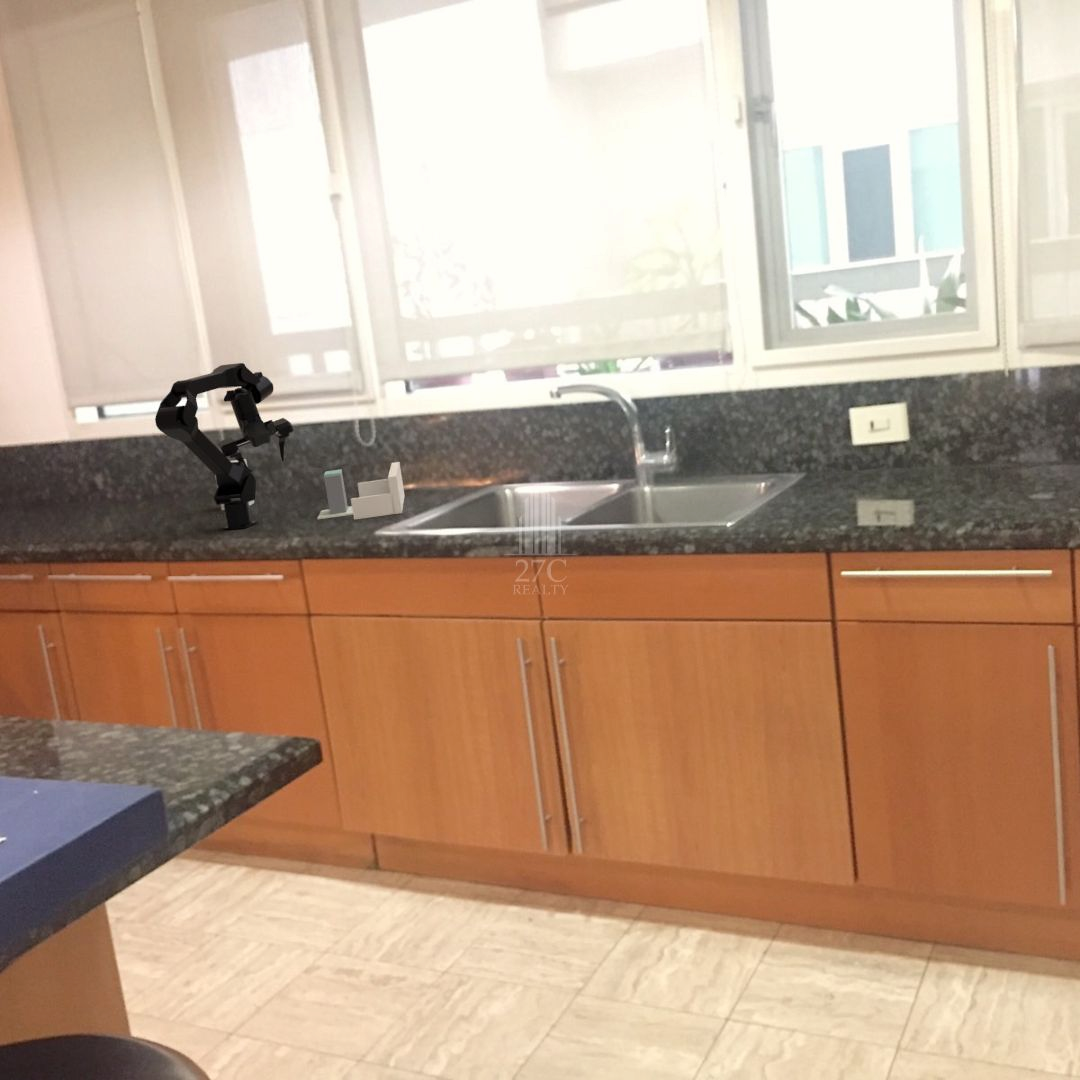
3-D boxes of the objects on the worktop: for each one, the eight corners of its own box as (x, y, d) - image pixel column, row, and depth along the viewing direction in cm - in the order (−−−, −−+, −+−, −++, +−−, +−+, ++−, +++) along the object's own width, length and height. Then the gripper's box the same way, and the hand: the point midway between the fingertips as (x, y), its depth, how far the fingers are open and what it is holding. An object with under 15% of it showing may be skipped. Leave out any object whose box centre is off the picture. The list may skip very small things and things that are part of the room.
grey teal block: (330, 514, 294) (323, 474, 292) (332, 510, 300) (325, 471, 298) (346, 512, 295) (339, 472, 293) (348, 508, 301) (341, 469, 299)
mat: (317, 519, 292) (317, 518, 292) (321, 511, 303) (321, 510, 303) (358, 513, 293) (357, 512, 292) (360, 506, 303) (360, 504, 303)
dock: (354, 519, 285) (348, 482, 283) (360, 501, 311) (355, 467, 309) (401, 512, 286) (396, 476, 284) (404, 495, 311) (399, 461, 309)
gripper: (218, 431, 290) (239, 488, 296) (289, 405, 296) (308, 461, 303) (207, 421, 299) (228, 477, 306) (277, 396, 305) (296, 451, 312)
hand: (265, 467), depth 306 cm, fingers open, 9 cm apart
